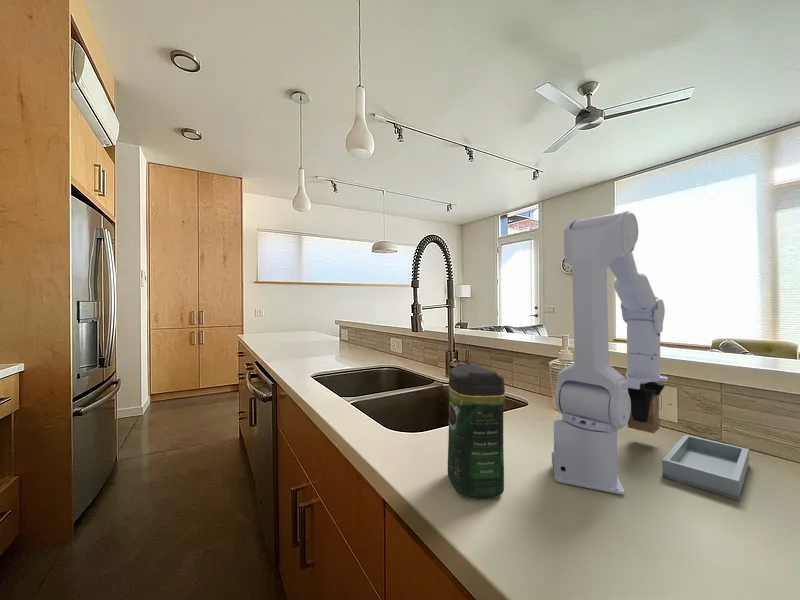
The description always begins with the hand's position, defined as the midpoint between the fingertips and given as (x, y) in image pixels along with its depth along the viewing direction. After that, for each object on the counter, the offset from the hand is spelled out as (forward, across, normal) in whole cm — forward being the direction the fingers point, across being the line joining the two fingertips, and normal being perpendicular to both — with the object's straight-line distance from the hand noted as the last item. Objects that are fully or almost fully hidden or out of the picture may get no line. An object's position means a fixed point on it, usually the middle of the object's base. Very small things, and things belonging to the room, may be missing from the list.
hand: (643, 418), depth 70 cm
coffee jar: (+5, -41, +12) cm, 43 cm away
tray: (+5, -6, -11) cm, 13 cm away
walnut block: (+2, 0, 0) cm, 2 cm away
